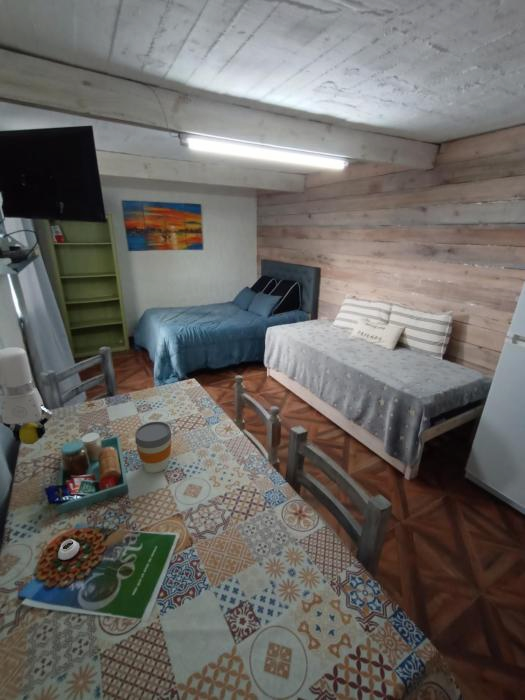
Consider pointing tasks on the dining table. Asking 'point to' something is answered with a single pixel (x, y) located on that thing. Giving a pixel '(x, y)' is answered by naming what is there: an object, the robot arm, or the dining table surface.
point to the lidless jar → (68, 550)
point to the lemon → (28, 433)
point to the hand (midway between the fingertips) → (30, 436)
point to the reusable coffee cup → (154, 445)
